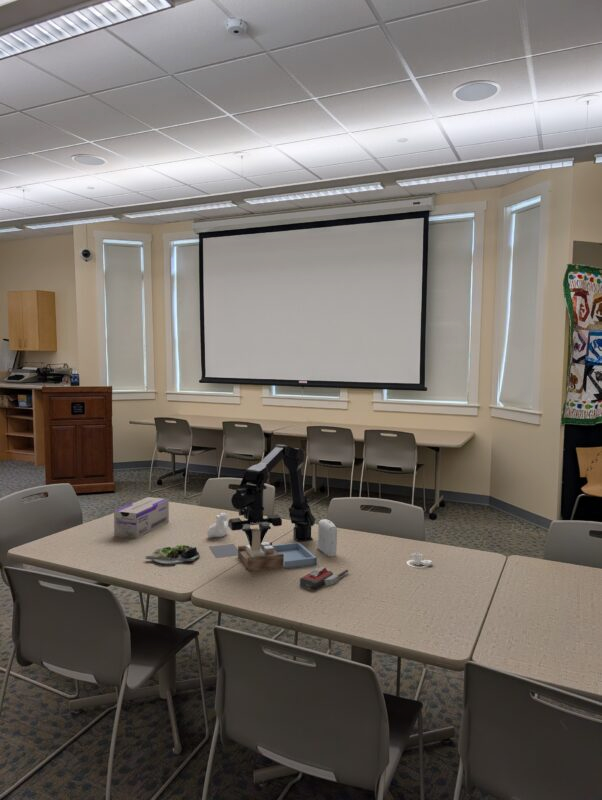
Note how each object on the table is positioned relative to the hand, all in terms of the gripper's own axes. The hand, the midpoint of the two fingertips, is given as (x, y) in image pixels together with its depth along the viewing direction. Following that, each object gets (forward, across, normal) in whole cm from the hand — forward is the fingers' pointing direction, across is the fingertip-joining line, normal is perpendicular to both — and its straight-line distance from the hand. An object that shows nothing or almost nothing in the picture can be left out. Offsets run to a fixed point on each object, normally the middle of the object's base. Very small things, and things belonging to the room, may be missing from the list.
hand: (255, 545), depth 199 cm
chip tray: (+6, -14, 0) cm, 16 cm away
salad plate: (+7, +26, -15) cm, 30 cm away
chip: (+3, -4, -2) cm, 6 cm away
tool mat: (+6, +8, -15) cm, 18 cm away
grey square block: (+3, -4, +2) cm, 6 cm away
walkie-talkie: (+7, -17, +23) cm, 30 cm away
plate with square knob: (+3, 0, 0) cm, 3 cm away
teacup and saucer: (+7, -55, +23) cm, 60 cm away
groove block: (+6, -2, 0) cm, 7 cm away
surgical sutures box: (+7, +34, -55) cm, 65 cm away
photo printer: (+7, -30, -2) cm, 30 cm away
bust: (+7, +6, -34) cm, 35 cm away
